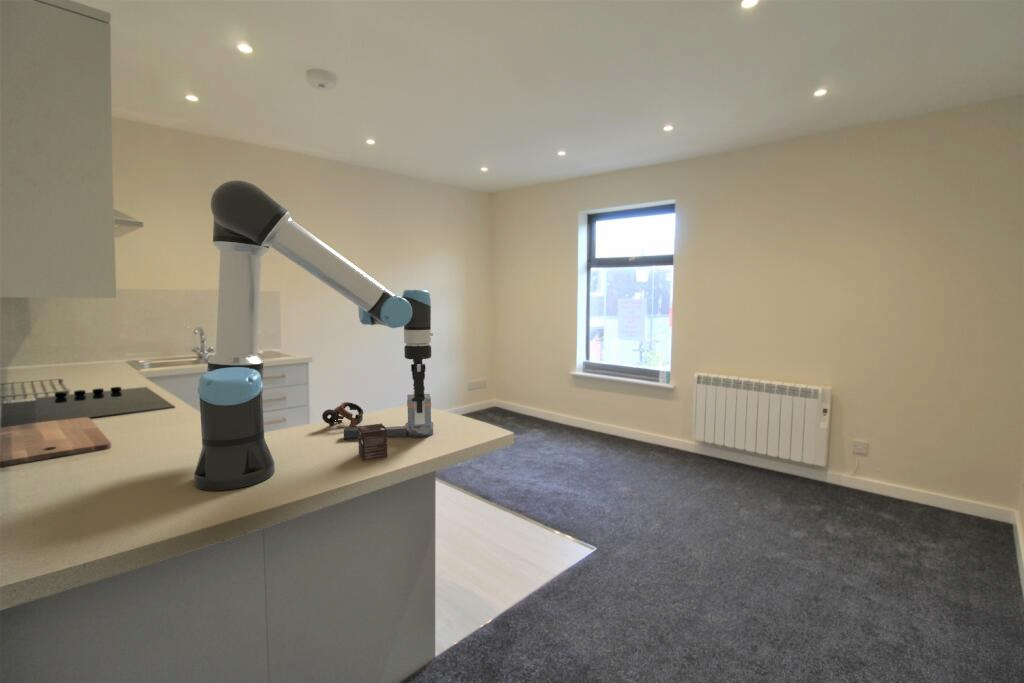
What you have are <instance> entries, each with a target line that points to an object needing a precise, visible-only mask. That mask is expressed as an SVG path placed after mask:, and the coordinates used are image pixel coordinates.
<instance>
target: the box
mask: <svg viewBox="0 0 1024 683" xmlns="http://www.w3.org/2000/svg"><path fill="white" fill-rule="evenodd" d="M357 427H358V439H357V440H358V455H359V457H360V459H361V461H362V462H368V461H374V460H382V459H387V458H388V437H387V429H386V428H385V427H386V426H385V425H383V423H374V424H367V425H358V426H357Z"/></svg>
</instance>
